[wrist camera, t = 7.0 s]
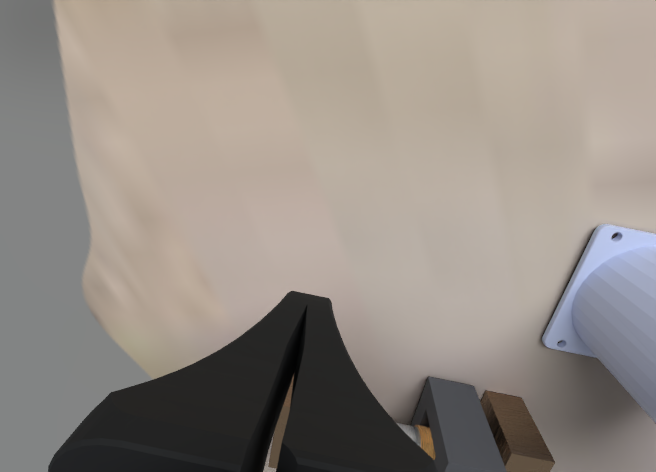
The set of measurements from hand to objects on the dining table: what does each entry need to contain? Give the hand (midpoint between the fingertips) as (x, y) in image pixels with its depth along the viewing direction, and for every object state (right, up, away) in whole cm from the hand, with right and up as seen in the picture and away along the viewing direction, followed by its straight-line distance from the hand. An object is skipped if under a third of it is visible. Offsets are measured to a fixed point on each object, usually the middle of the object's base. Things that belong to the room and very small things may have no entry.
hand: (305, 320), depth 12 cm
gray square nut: (+8, -9, +14) cm, 18 cm away
